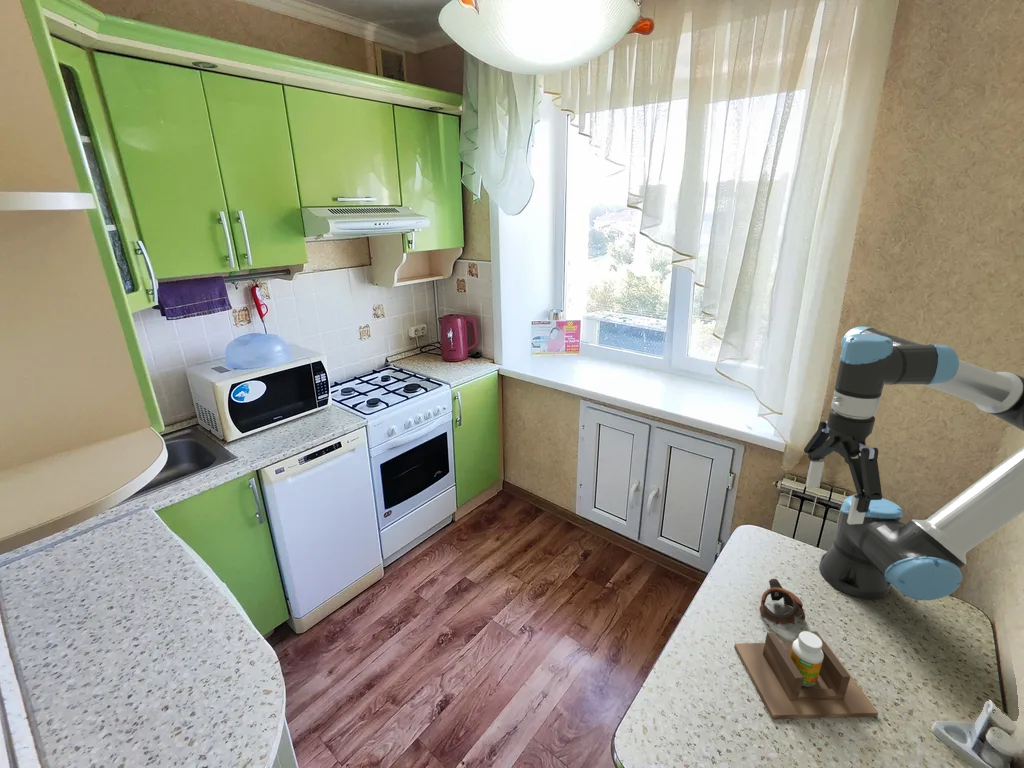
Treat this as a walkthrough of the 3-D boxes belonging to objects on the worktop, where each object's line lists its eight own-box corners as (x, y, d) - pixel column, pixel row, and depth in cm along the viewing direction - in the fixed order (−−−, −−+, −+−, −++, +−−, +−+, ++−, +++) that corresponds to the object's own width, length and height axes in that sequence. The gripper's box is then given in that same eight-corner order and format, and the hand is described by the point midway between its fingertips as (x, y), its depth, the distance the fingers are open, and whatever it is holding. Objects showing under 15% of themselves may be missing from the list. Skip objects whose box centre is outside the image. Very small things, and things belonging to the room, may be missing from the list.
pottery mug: (815, 632, 110) (809, 615, 106) (773, 642, 112) (765, 625, 108) (791, 584, 120) (784, 567, 115) (752, 594, 122) (744, 577, 118)
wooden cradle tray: (824, 644, 106) (830, 620, 103) (877, 716, 91) (886, 689, 88) (734, 647, 106) (738, 622, 103) (772, 719, 91) (778, 692, 88)
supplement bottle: (791, 685, 96) (800, 648, 93) (782, 661, 101) (791, 626, 98) (821, 690, 95) (831, 653, 92) (811, 666, 100) (820, 630, 97)
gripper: (796, 391, 107) (781, 474, 114) (881, 440, 83) (856, 542, 91) (829, 389, 107) (812, 473, 114) (924, 439, 84) (895, 540, 91)
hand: (832, 503), depth 102 cm, fingers open, 13 cm apart
